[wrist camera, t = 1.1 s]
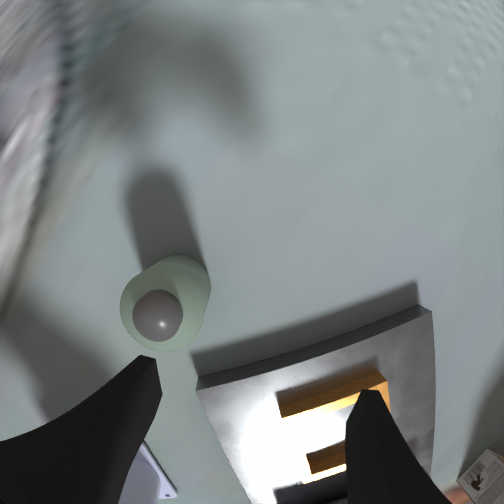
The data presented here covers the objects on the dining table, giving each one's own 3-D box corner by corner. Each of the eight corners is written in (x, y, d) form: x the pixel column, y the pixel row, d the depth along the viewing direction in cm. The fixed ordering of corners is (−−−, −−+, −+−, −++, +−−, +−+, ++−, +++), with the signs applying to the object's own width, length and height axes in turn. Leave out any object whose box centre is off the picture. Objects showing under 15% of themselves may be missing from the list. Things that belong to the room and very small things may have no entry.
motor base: (271, 525, 25) (278, 571, 18) (198, 377, 22) (187, 434, 15) (422, 472, 26) (448, 508, 19) (418, 304, 23) (472, 332, 16)
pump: (160, 323, 22) (133, 367, 15) (139, 264, 21) (101, 286, 14) (219, 307, 22) (213, 348, 15) (199, 246, 21) (183, 261, 14)
